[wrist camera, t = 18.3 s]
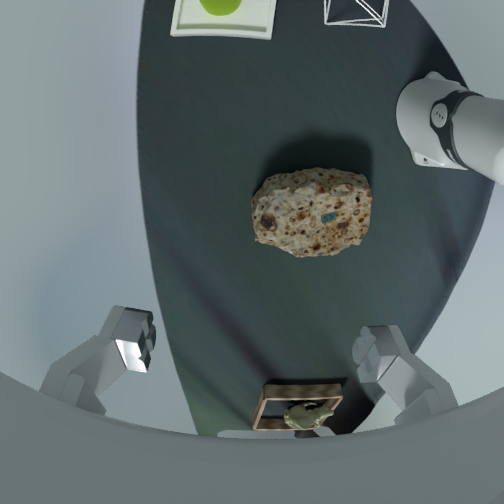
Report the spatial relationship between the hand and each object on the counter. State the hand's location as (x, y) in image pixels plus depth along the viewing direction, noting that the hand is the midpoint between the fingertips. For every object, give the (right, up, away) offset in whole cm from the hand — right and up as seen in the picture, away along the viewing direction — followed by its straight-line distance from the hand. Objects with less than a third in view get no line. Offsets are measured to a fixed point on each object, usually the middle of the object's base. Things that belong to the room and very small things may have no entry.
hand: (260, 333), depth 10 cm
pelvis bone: (+19, -53, +78) cm, 96 cm away
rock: (+10, +11, +37) cm, 40 cm away
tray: (-4, +41, +18) cm, 45 cm away
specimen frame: (+15, -52, +77) cm, 94 cm away
